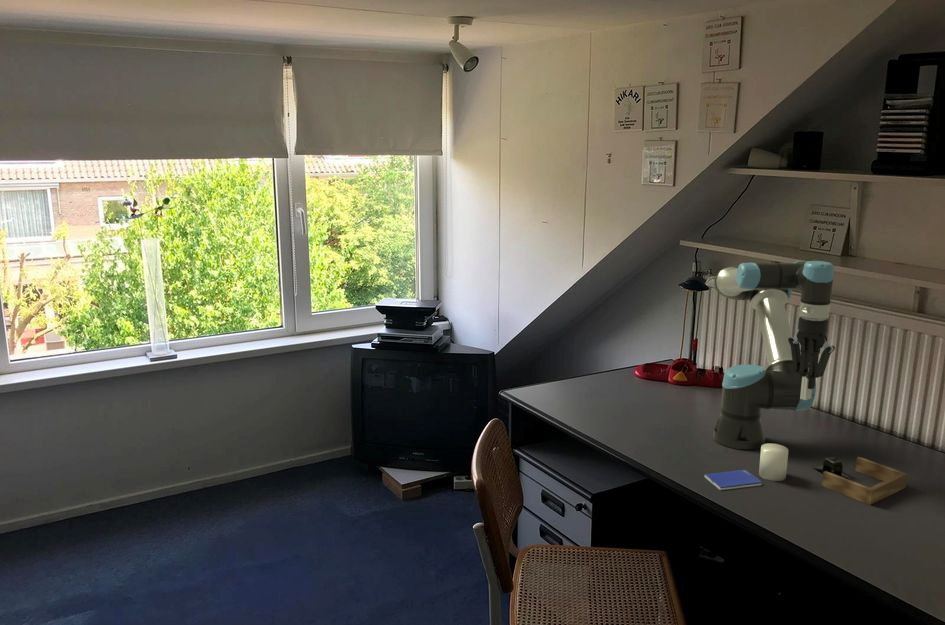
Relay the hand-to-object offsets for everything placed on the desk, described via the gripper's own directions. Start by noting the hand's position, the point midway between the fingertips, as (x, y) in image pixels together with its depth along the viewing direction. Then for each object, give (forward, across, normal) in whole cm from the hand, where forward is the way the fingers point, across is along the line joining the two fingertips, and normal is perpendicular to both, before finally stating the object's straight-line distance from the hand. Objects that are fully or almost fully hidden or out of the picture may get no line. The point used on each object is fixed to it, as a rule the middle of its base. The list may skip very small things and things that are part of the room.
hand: (805, 398), depth 212 cm
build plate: (+20, +10, +1) cm, 22 cm away
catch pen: (+19, +18, 0) cm, 27 cm away
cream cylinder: (+19, +1, -14) cm, 24 cm away
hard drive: (+20, -3, -26) cm, 33 cm away
